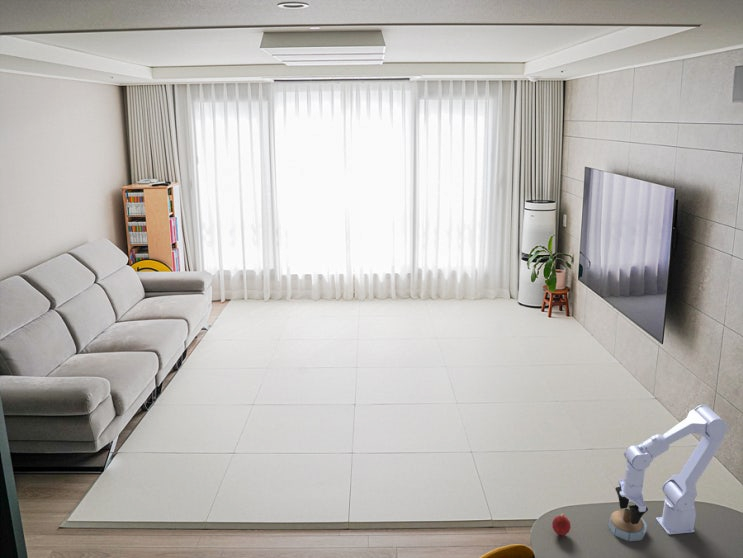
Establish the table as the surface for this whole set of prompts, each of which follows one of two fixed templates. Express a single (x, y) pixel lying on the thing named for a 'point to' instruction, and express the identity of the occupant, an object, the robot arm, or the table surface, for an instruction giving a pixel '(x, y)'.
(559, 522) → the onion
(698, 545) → the table surface
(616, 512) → the lid
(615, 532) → the bowl
